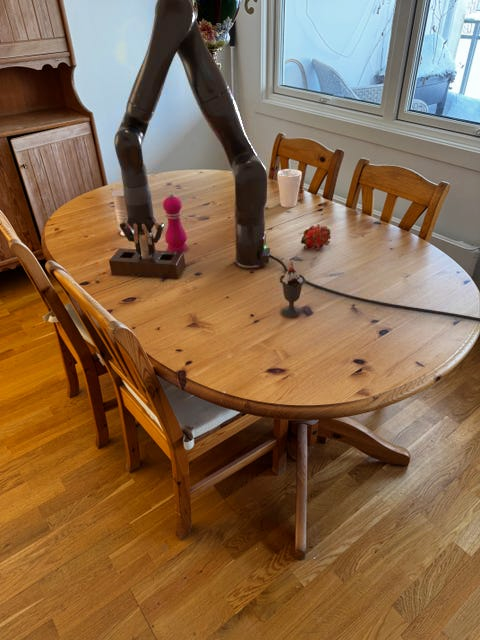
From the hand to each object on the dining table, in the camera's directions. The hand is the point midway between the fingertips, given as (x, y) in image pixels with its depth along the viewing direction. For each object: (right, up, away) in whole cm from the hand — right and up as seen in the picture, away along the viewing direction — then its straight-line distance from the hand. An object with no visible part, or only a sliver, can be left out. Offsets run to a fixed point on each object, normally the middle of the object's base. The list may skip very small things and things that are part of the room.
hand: (146, 253), depth 143 cm
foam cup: (+49, +27, +47) cm, 73 cm away
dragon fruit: (+54, +4, +14) cm, 56 cm away
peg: (0, -3, +2) cm, 3 cm away
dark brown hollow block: (0, -5, +3) cm, 6 cm away
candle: (-12, +12, +28) cm, 32 cm away
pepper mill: (+8, +3, +15) cm, 17 cm away
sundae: (+43, -19, -18) cm, 50 cm away
